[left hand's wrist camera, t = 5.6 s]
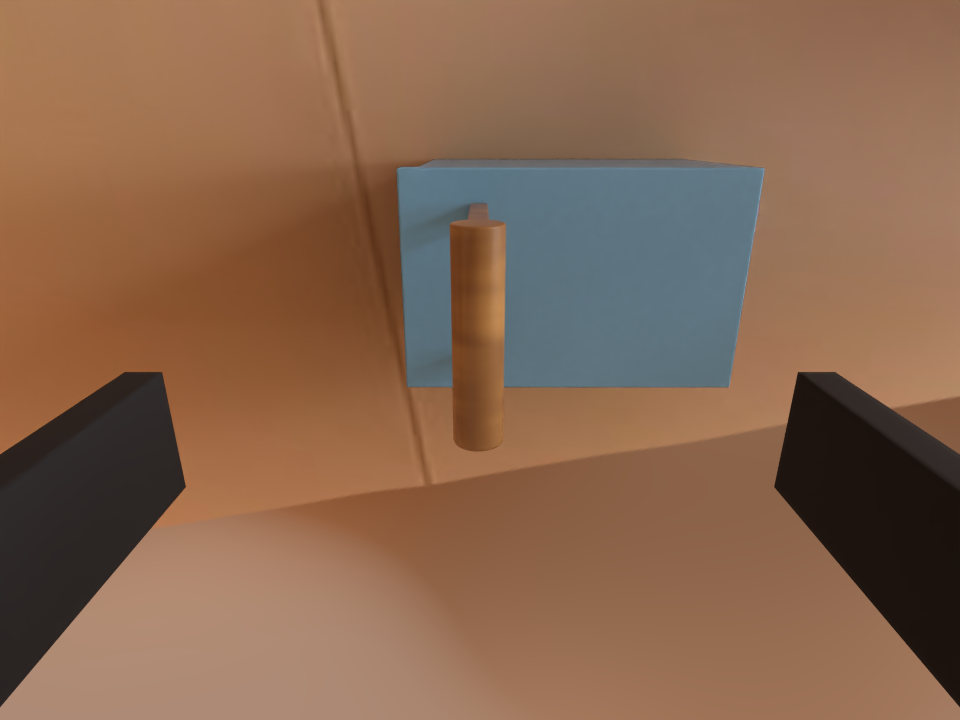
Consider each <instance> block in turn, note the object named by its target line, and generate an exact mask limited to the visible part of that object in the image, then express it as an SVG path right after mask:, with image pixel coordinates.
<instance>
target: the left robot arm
mask: <svg viewBox="0 0 960 720" xmlns="http://www.w3.org/2000/svg"><path fill="white" fill-rule="evenodd" d="M185 487H186V486H185V481H184V476H183V471H182V467H181V462H180V457H179V452H178V447H177V443H176V438H175V433H174V428H173V423H172V418H171V414H170V409H169V404H168V399H167V394H166V389H165V385H164V380H163V375H162V372H124V373H123V374H121V375H120V376H118V377H117V378H115V379H114V380H112V381H111V382H109V383H108V384H106V385H105V386H103V387H102V388H100V389H99V390H97V391H96V392H94V393H93V394H91V395H90V396H88V397H87V398H85V399H84V400H82V401H81V402H79V403H78V404H76V405H74V406H73V407H71V408H70V409H68V410H67V411H65V412H64V413H62V414H61V415H59V416H58V417H56V418H55V419H53V420H52V421H50V422H49V423H47V424H46V425H44V426H43V427H41V428H40V429H38V430H37V431H35V432H34V433H32V434H31V435H29V436H28V437H26V438H24V439H23V440H21V441H20V442H18V443H17V444H15V445H14V446H12V447H11V448H9V449H8V450H6V451H5V452H3V453H2V454H0V707H1V705H2V704H3V703H4V702H5V701H6V700H7V698H8V697H9V696H10V695H11V694H12V692H13V691H14V690H15V689H16V688H17V687H18V685H19V684H20V683H21V682H22V681H23V679H24V678H25V677H26V676H27V675H28V673H29V672H30V671H31V670H32V669H33V668H34V666H35V665H36V664H37V663H38V662H39V660H40V659H41V658H42V657H43V656H44V654H45V653H46V652H47V651H48V650H49V649H50V647H51V646H52V645H53V644H54V643H55V641H56V640H57V639H58V638H59V637H60V635H61V634H62V633H63V632H64V631H65V630H66V628H67V627H68V626H69V625H70V624H71V622H72V621H73V620H74V619H75V618H76V616H77V615H78V614H79V613H80V612H81V611H82V609H83V608H84V607H85V606H86V605H87V603H88V602H89V601H90V600H91V599H92V597H93V596H94V595H95V594H96V593H97V592H98V590H99V589H100V588H101V587H102V586H103V584H104V583H105V582H106V581H107V580H108V579H109V577H110V576H111V575H112V574H113V573H114V571H115V570H116V569H117V568H118V567H119V566H120V564H121V563H122V562H123V561H124V560H125V558H126V557H127V556H128V555H129V554H130V552H131V551H132V550H133V549H134V548H135V547H136V545H137V544H138V543H139V542H140V541H141V539H142V538H143V537H144V536H145V535H146V533H147V532H148V531H149V530H150V529H151V528H152V526H153V525H154V524H155V523H156V522H157V520H158V519H159V518H160V517H161V516H162V514H163V513H164V512H165V511H166V510H167V509H168V507H169V506H170V505H171V504H172V503H173V501H174V500H175V499H176V498H177V497H178V496H179V494H180V493H181V492H182V491H183V490H184V488H185ZM774 487H775V488H776V490H777V491H778V492H779V493H780V494H781V496H782V497H783V498H784V499H785V500H786V501H787V503H788V504H789V505H790V506H791V507H792V509H793V510H794V511H795V512H796V513H797V514H798V516H799V517H800V518H801V519H802V520H803V522H804V523H805V524H806V525H807V526H808V528H809V529H810V530H811V531H812V532H813V533H814V535H815V536H816V537H817V538H818V539H819V541H820V542H821V543H822V544H823V545H824V547H825V548H826V549H827V550H828V551H829V552H830V554H831V555H832V556H833V557H834V558H835V560H836V561H837V562H838V563H839V564H840V566H841V567H842V568H843V569H844V570H845V571H846V573H847V574H848V575H849V576H850V577H851V579H852V580H853V581H854V582H855V583H856V584H857V586H858V587H859V588H860V589H861V590H862V592H863V593H864V594H865V595H866V596H867V598H868V599H869V600H870V601H871V602H872V603H873V605H874V606H875V607H876V608H877V609H878V611H879V612H880V613H881V614H882V615H883V617H884V618H885V619H886V620H887V621H888V622H889V624H890V625H891V626H892V627H893V628H894V630H895V631H896V632H897V633H898V634H899V635H900V637H901V638H902V639H903V640H904V641H905V643H906V644H907V645H908V646H909V647H910V649H911V650H912V651H913V652H914V653H915V654H916V656H917V657H918V658H919V659H920V660H921V662H922V663H923V664H924V665H925V666H926V667H927V669H928V670H929V671H930V672H931V673H932V675H933V676H934V677H935V678H936V679H937V681H938V682H939V683H940V684H941V685H942V686H943V688H944V689H945V690H946V691H947V692H948V694H949V695H950V696H951V697H952V698H953V700H954V701H955V702H956V703H957V704H958V705H959V707H960V454H958V453H957V452H955V451H954V450H952V449H951V448H949V447H948V446H946V445H945V444H943V443H942V442H940V441H939V440H937V439H936V438H934V437H932V436H931V435H929V434H928V433H926V432H925V431H923V430H922V429H920V428H919V427H917V426H916V425H914V424H913V423H911V422H910V421H908V420H907V419H905V418H904V417H902V416H901V415H899V414H898V413H896V412H895V411H893V410H892V409H890V408H889V407H887V406H886V405H884V404H882V403H881V402H879V401H878V400H876V399H875V398H873V397H872V396H870V395H869V394H867V393H866V392H864V391H863V390H861V389H860V388H858V387H857V386H855V385H854V384H852V383H851V382H849V381H848V380H846V379H845V378H843V377H842V376H840V375H839V374H837V373H836V372H798V375H797V380H796V385H795V389H794V394H793V399H792V404H791V409H790V414H789V418H788V423H787V428H786V433H785V438H784V443H783V447H782V452H781V457H780V462H779V467H778V472H777V476H776V481H775V486H774Z"/></svg>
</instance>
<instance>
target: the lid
mask: <svg viewBox="0 0 960 720" xmlns="http://www.w3.org/2000/svg"><path fill="white" fill-rule="evenodd" d="M396 171H397V192H398V213H399V233H400V254H401V275H402V296H403V317H404V337H405V358H406V379H407V387H453V439H454V442H455V444H456V445H457V446H459V447H460V448H463V449H465V450H470V451H487V450H491V449H494V448H496V447H498V446H499V445H500V444H501V443H502V440H503V404H504V387H729V385H730V378H731V372H732V366H733V360H734V354H735V348H736V342H737V336H738V330H739V323H740V317H741V311H742V305H743V299H744V293H745V287H746V281H747V275H748V268H749V262H750V256H751V250H752V244H753V238H754V232H755V226H756V220H757V214H758V207H759V201H760V195H761V189H762V183H763V177H764V171H765V170H764V168H760V167H399V168H397V170H396Z"/></svg>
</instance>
